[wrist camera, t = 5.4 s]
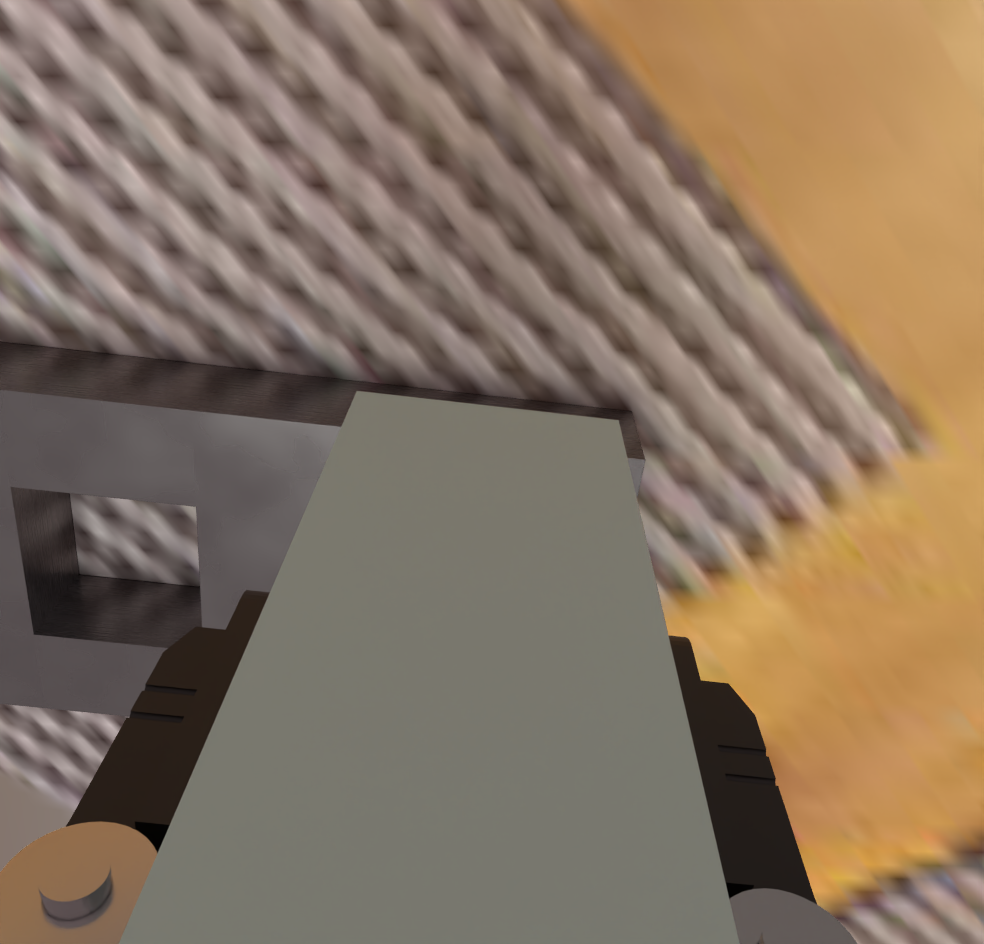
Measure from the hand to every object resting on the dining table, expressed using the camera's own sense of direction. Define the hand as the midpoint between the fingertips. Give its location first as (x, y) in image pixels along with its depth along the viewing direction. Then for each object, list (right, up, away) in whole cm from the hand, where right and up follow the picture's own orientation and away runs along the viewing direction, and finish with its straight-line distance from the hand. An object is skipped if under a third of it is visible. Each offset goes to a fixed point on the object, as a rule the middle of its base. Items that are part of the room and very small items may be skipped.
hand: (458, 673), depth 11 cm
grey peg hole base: (-7, 0, +21) cm, 22 cm away
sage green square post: (0, +2, +3) cm, 4 cm away
